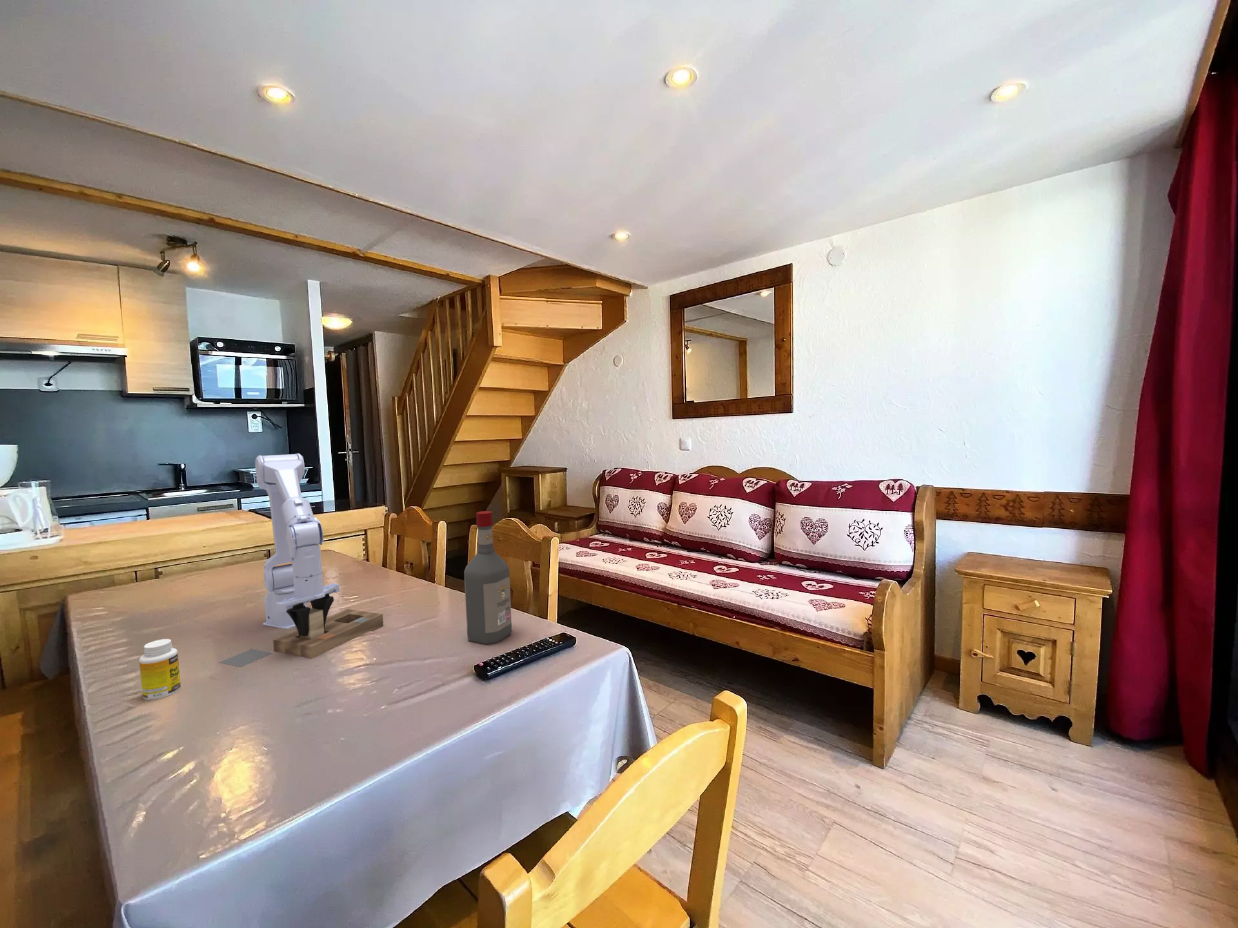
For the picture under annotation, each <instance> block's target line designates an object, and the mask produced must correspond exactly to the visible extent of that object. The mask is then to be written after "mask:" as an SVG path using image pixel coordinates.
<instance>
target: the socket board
mask: <svg viewBox="0 0 1238 928" xmlns="http://www.w3.org/2000/svg"><path fill="white" fill-rule="evenodd" d="M383 615H384V613H378V612H377V613H376V612H370V611H365V610H356V609H349V608H347V609H344V610H342V611H340V612H337V613H334V614H332V615H329V616H327V618H326V623H325V628H324V634H323V635H320V636H318V637H316V638H314V639H311V640H307V639H302V638H300V635H299V633H298V630H297V629H296V630H293V631H290V632H288V633H286V634H283V635H281V636H278V637H275V638H274V639H272V641H273V642H272V644H273V651H274V652H278V653H284V654H289V655H294V656H298V657H303V658H307V659H308V658H309V659H315V658H316V657H319V656H320V655H322V654H325V653H327V652H329V651H330V650H333V649H335V648H337V647H339V646H342V645H343V644H346V643H347V642H349V641H351V640H352V641H353V639H356V638H357V637H360V636H362V635H364V634H365V633H368V632H373V631H375V630H377V629H379V628H382V627H383V626H384V616H383Z"/></svg>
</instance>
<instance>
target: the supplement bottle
mask: <svg viewBox="0 0 1238 928" xmlns="http://www.w3.org/2000/svg"><path fill="white" fill-rule="evenodd" d="M138 661H139V662H138V663H139V673H140V683H141V689H142V690H141V692H142V698H143V700H147V701H151V700H154V701H155V700H159V699H163V698H166V697H169V696H171V695H173V694H175V693H177V692H178V691H179V690H180V689H181V685H182V684H181V675H180V674H181V673H180V664H179V663H180V662H179V652H178V649H176V648H174V647H173V645H172V639H170V638H162V639H156V640H153V641H150V642H148V643H145V644H144V645H143V654H142V655H141V656H140V657H139V660H138Z"/></svg>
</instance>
